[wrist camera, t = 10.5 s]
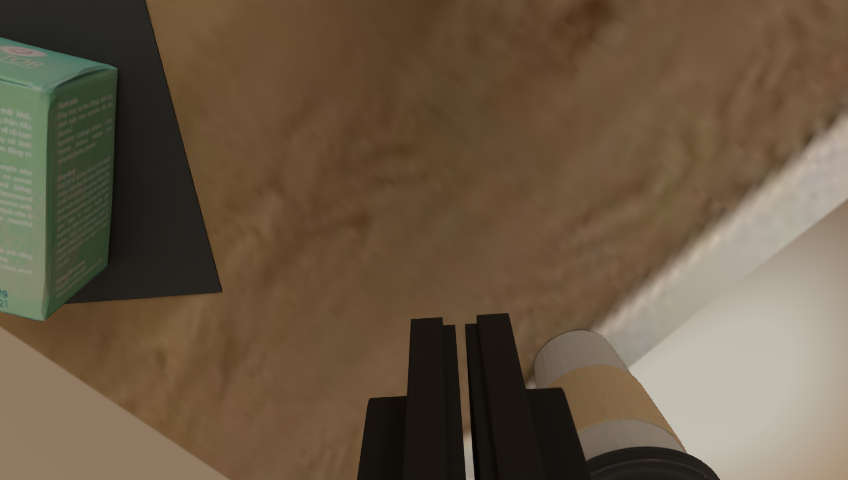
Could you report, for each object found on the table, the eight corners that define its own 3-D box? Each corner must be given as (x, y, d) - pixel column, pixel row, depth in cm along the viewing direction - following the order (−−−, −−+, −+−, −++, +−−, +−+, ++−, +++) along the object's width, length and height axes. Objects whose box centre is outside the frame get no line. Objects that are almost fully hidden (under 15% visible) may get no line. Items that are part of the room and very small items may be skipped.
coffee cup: (486, 384, 44) (512, 575, 30) (558, 285, 40) (624, 449, 27) (592, 433, 46) (662, 633, 32) (670, 341, 42) (786, 522, 28)
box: (122, 60, 34) (44, 85, 27) (113, 264, 40) (47, 327, 33) (-11, 26, 34) (-125, 43, 27) (-1, 238, 39) (-93, 297, 32)
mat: (-77, -10, 33) (-78, -10, 33) (136, -31, 32) (136, -31, 32) (50, 304, 41) (49, 305, 41) (221, 291, 41) (221, 292, 41)
